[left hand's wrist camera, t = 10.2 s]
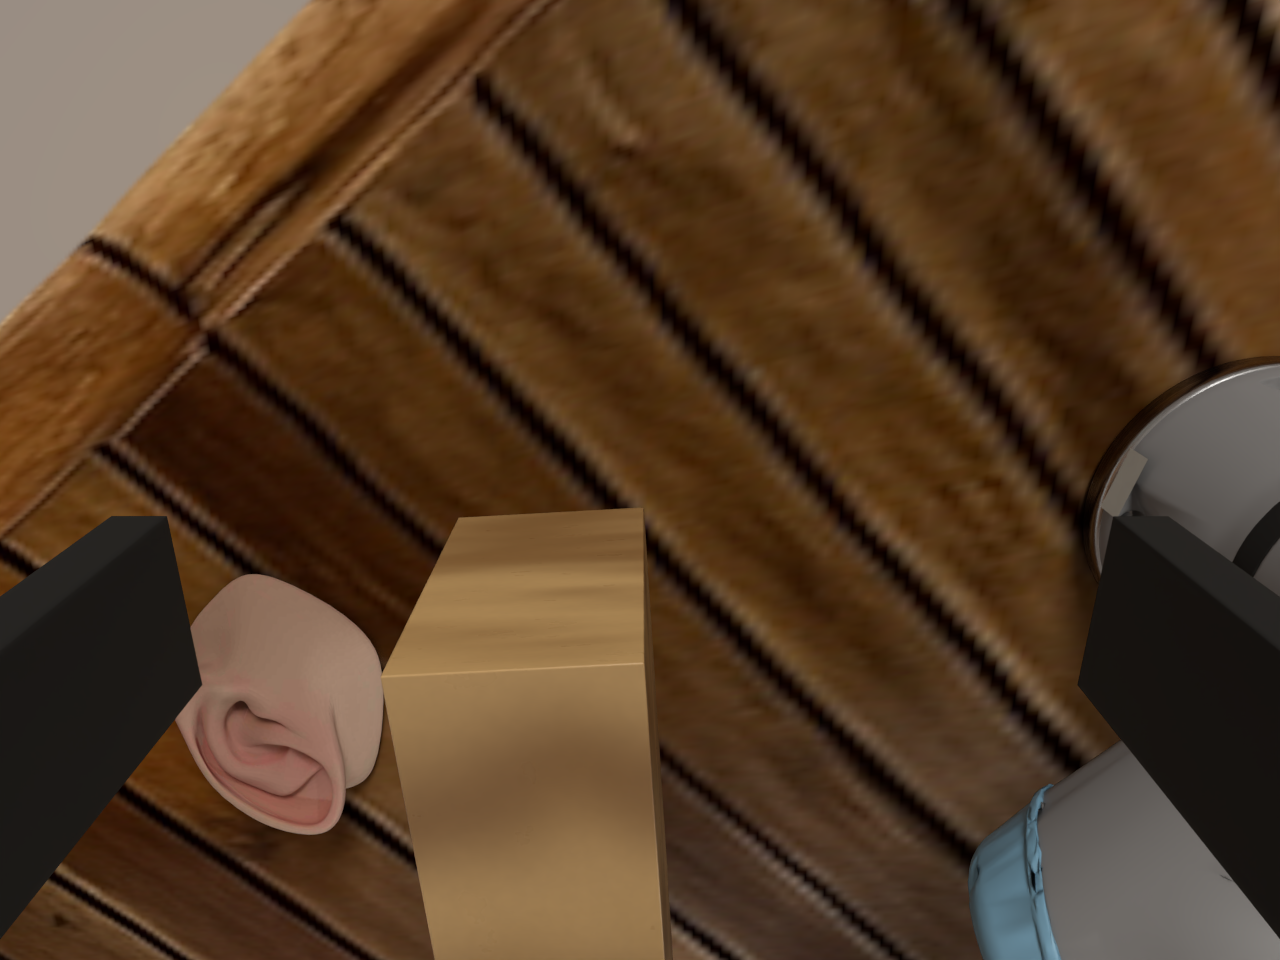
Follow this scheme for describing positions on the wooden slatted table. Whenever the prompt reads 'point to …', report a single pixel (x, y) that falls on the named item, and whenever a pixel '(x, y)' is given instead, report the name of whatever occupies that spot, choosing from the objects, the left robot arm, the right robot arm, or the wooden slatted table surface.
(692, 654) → the wooden slatted table surface
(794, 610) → the wooden slatted table surface
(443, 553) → the box
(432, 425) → the wooden slatted table surface
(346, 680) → the anatomical model
